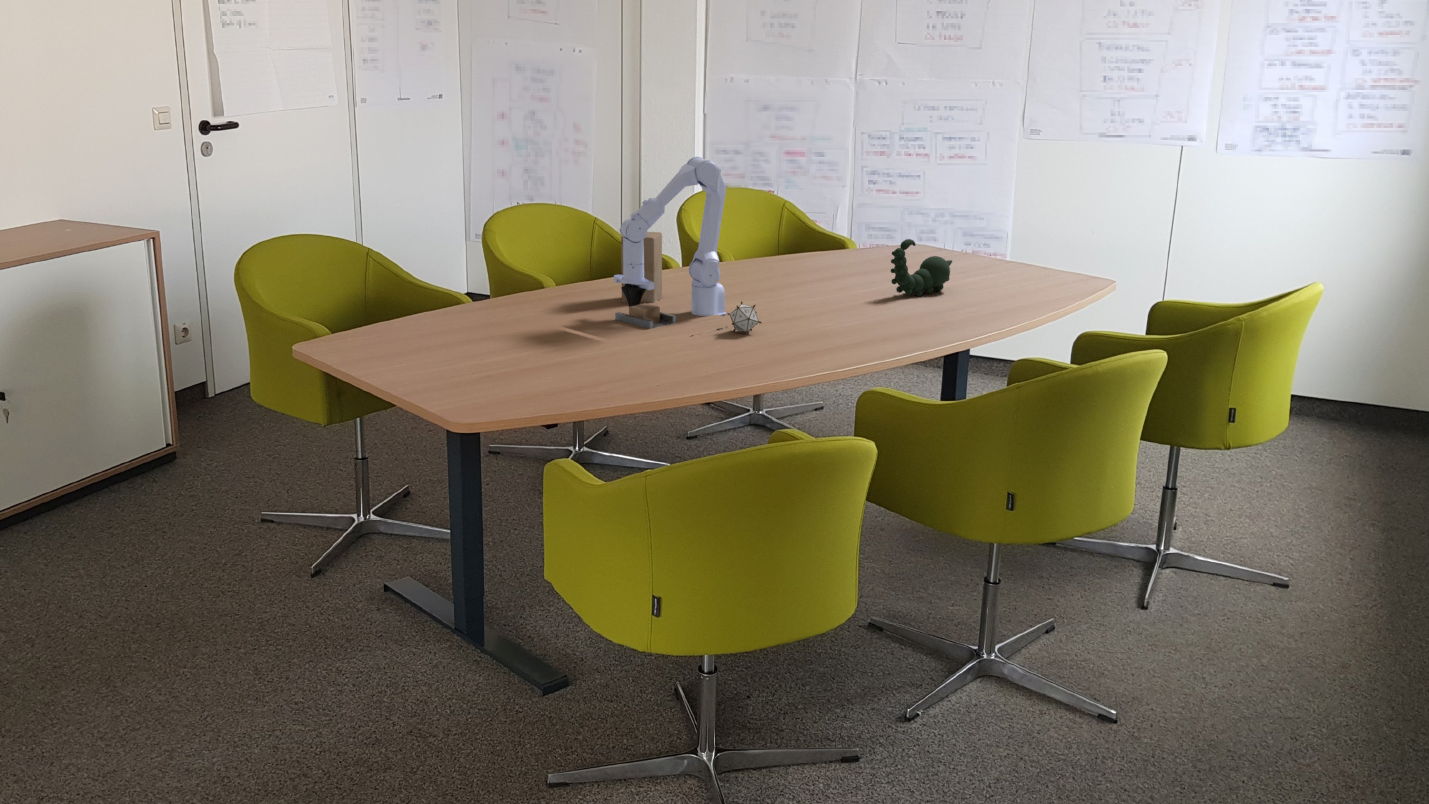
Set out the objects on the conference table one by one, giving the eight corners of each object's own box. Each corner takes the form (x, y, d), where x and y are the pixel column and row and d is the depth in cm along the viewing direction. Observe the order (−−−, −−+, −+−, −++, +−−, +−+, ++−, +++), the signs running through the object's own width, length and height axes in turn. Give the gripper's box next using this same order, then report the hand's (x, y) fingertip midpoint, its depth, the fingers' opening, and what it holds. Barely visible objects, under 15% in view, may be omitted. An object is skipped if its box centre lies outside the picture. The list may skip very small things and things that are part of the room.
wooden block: (654, 305, 354) (653, 237, 348) (621, 303, 356) (620, 236, 350) (662, 298, 363) (662, 232, 357) (630, 296, 365) (629, 230, 359)
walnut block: (645, 317, 336) (644, 303, 335) (659, 321, 332) (659, 306, 331) (629, 320, 332) (628, 306, 330) (643, 324, 328) (643, 310, 326)
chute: (641, 316, 340) (641, 307, 339) (701, 332, 324) (701, 322, 323) (615, 322, 333) (615, 312, 332) (675, 338, 317) (675, 328, 316)
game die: (741, 347, 324) (726, 322, 317) (733, 329, 330) (718, 304, 323) (770, 331, 323) (755, 306, 316) (761, 313, 329) (747, 288, 322)
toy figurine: (906, 306, 363) (963, 289, 377) (906, 245, 357) (963, 229, 370) (884, 300, 371) (940, 283, 384) (883, 240, 364) (941, 225, 378)
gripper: (605, 261, 332) (606, 309, 336) (640, 268, 322) (641, 318, 326) (624, 258, 337) (624, 305, 341) (659, 265, 327) (660, 314, 331)
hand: (634, 311), depth 334 cm, fingers closed
